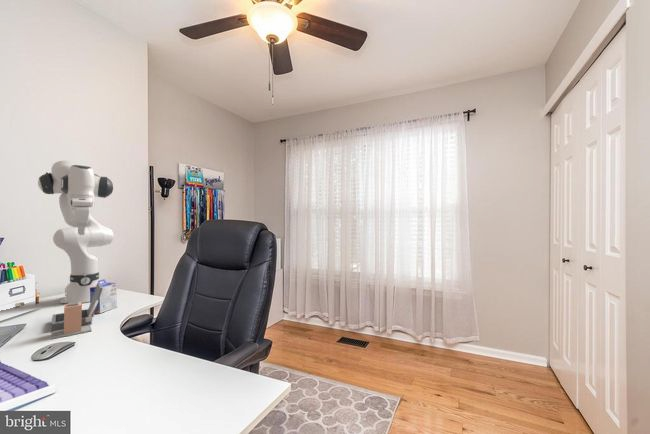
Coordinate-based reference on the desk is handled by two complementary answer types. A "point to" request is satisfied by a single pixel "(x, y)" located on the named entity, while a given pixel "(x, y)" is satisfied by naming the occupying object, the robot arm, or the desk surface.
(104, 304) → the ink cartridge box
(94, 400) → the desk surface
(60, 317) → the case
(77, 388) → the desk surface
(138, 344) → the desk surface
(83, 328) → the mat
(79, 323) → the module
